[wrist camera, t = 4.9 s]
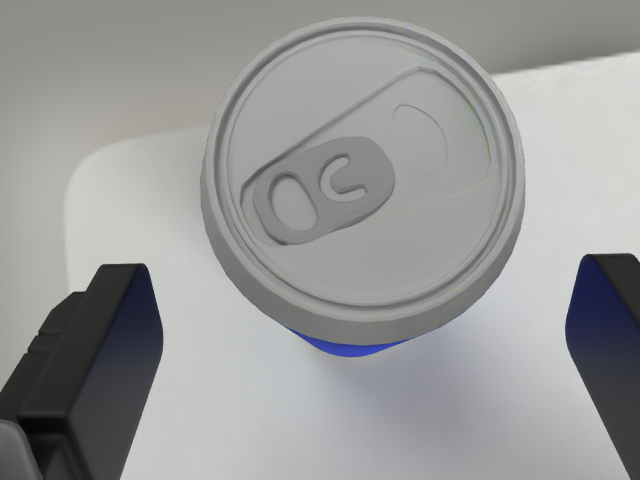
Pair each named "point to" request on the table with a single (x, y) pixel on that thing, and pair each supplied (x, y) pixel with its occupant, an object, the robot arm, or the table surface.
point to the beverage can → (363, 183)
